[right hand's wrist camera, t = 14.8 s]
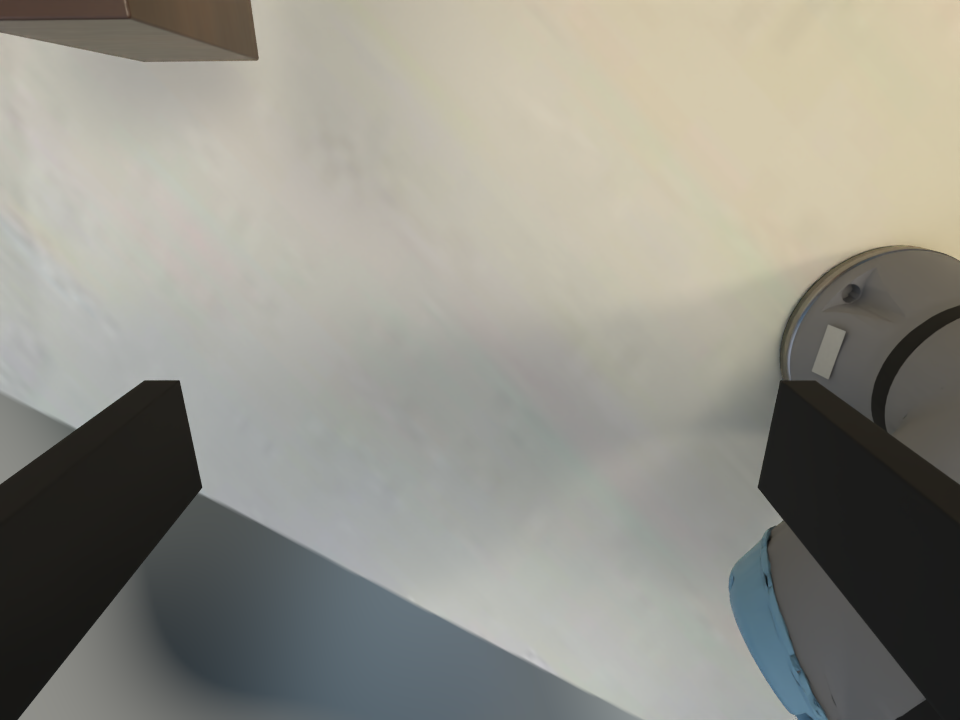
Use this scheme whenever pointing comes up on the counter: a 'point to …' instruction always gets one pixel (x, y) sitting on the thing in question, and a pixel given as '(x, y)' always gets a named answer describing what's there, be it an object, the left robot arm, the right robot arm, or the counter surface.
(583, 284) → the counter surface
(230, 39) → the walnut box
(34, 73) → the counter surface
